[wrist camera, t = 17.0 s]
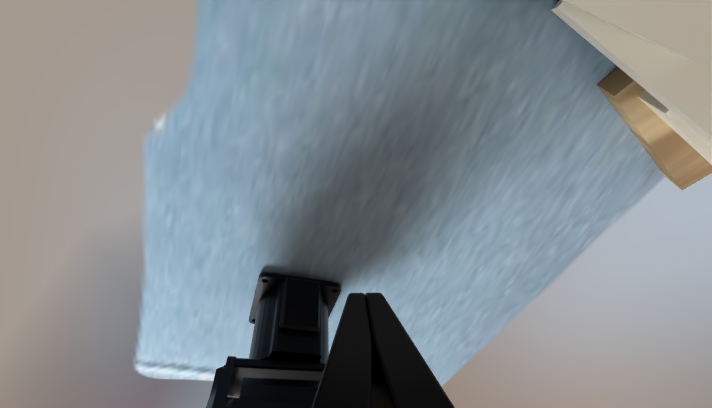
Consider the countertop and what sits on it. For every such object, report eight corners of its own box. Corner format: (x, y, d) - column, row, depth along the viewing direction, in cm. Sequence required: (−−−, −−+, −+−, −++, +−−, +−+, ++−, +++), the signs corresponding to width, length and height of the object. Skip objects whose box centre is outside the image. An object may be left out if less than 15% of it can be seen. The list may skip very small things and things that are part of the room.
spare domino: (688, 3, 18) (743, 119, 22) (591, 81, 20) (659, 172, 24) (722, 12, 16) (774, 135, 21) (614, 96, 18) (682, 190, 23)
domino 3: (655, -108, 14) (846, 54, 14) (550, 10, 17) (713, 146, 17) (677, -128, 13) (895, 56, 13) (557, 7, 15) (738, 159, 15)
